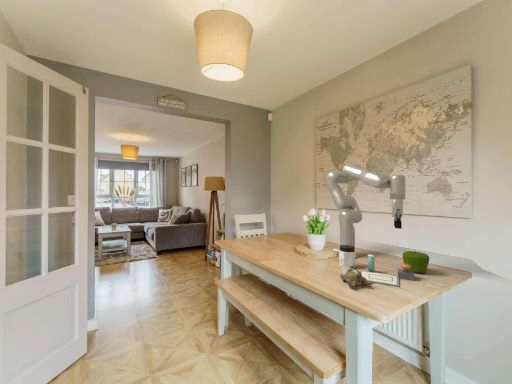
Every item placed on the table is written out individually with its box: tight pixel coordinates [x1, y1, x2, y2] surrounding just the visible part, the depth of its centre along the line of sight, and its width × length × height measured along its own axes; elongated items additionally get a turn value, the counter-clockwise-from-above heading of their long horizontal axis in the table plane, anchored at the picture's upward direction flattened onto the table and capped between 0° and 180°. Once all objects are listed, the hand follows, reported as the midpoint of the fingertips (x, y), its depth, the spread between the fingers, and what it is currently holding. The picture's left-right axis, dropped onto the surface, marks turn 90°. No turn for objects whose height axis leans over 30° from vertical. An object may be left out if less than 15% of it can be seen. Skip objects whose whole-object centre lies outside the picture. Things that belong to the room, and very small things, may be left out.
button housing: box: [397, 268, 415, 282], centre depth 123 cm, size 7×7×3 cm
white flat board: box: [359, 270, 400, 288], centre depth 121 cm, size 18×15×1 cm
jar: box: [338, 244, 356, 269], centre depth 141 cm, size 9×8×12 cm
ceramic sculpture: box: [339, 265, 373, 288], centre depth 114 cm, size 11×9×15 cm
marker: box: [367, 253, 376, 273], centre depth 132 cm, size 3×3×9 cm
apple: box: [402, 250, 430, 274], centre depth 132 cm, size 12×12×11 cm
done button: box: [400, 262, 411, 273], centre depth 123 cm, size 4×4×4 cm
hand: (397, 227), depth 136 cm, fingers open, 9 cm apart
